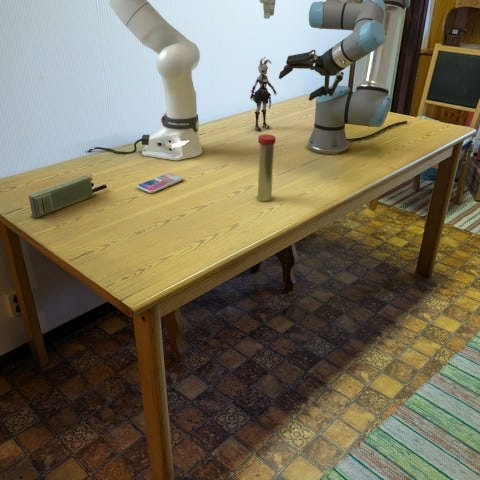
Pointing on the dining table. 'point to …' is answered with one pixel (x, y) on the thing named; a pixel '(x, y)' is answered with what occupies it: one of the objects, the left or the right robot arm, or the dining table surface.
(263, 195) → the olive cylindrical rod
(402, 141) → the dining table surface
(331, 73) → the right robot arm
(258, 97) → the figurine
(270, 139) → the lid
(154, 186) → the smartphone
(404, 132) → the dining table surface
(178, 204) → the dining table surface
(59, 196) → the handheld radio
